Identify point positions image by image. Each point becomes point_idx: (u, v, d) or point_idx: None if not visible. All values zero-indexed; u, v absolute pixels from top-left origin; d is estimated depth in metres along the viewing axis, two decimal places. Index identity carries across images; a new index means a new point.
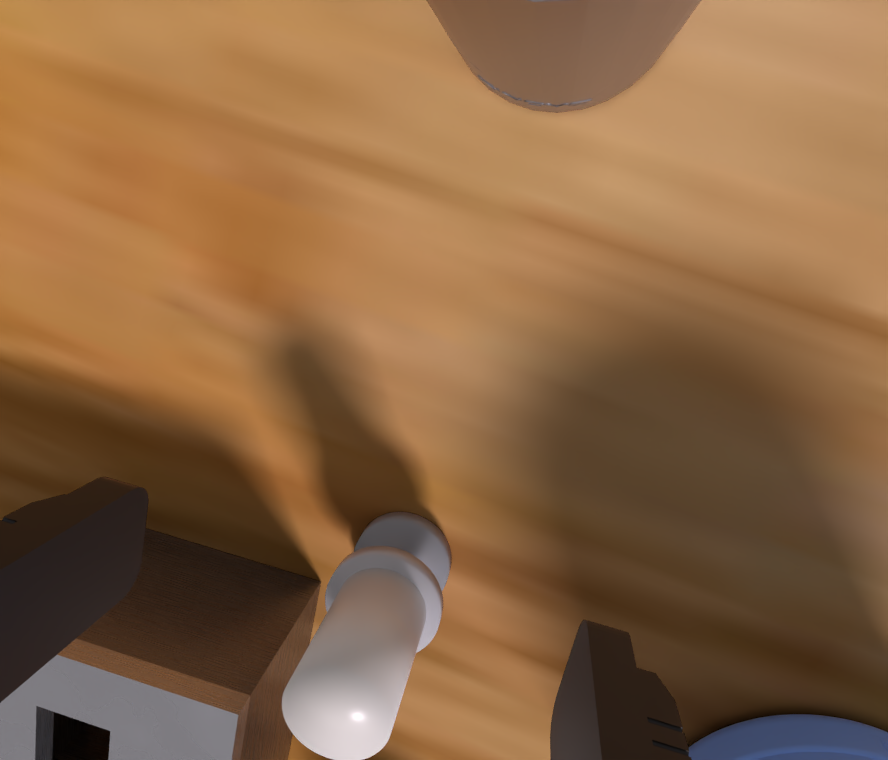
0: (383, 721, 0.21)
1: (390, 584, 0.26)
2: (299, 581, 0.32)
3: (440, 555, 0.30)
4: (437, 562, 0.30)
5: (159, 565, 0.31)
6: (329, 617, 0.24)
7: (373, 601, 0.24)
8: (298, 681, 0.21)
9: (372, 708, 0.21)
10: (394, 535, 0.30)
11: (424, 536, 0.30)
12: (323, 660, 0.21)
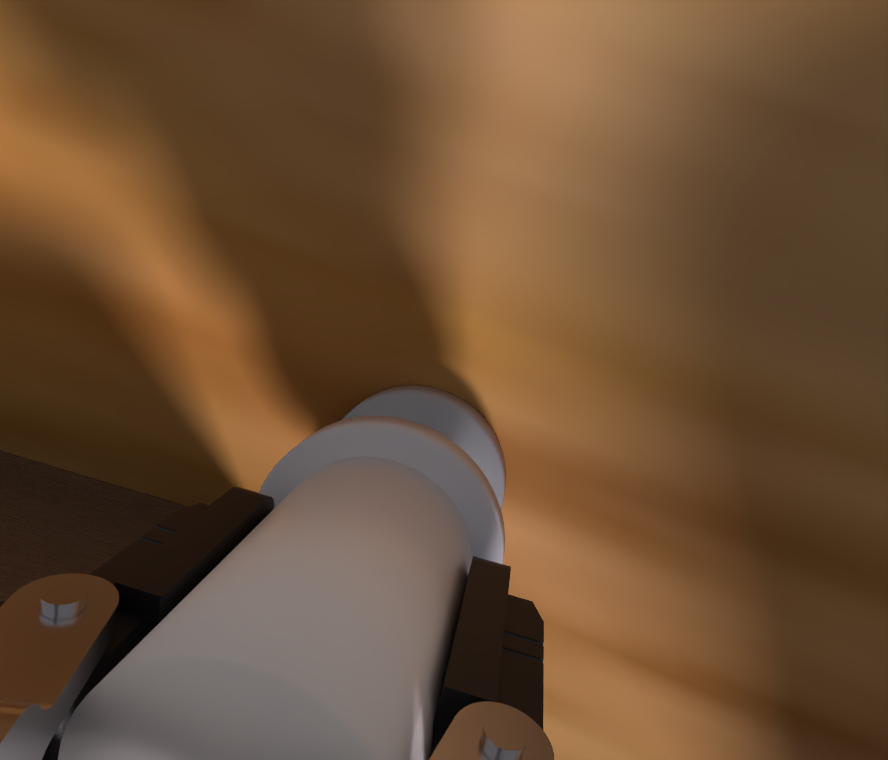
0: None
1: (393, 482, 0.11)
2: None
3: (488, 462, 0.15)
4: None
5: None
6: (239, 545, 0.09)
7: (352, 508, 0.10)
8: (101, 708, 0.07)
9: None
10: None
11: (457, 423, 0.15)
12: (184, 640, 0.07)
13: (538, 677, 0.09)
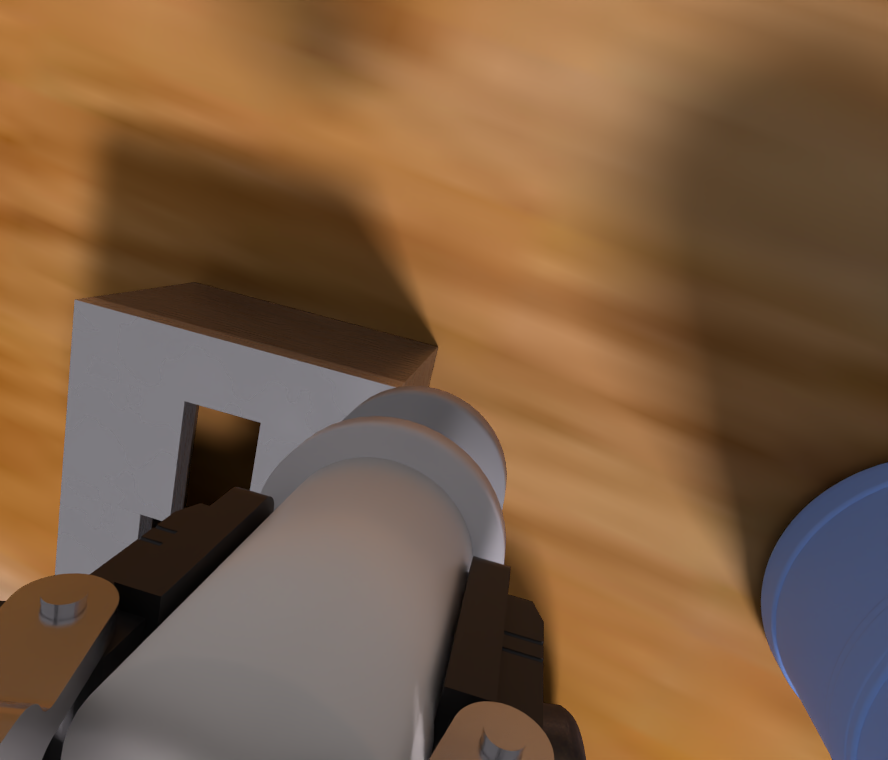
0: None
1: (395, 483, 0.11)
2: (418, 343, 0.32)
3: (489, 462, 0.15)
4: None
5: (283, 316, 0.31)
6: (240, 546, 0.09)
7: (354, 509, 0.10)
8: (104, 710, 0.07)
9: None
10: None
11: (458, 424, 0.15)
12: (185, 641, 0.07)
13: (538, 677, 0.09)
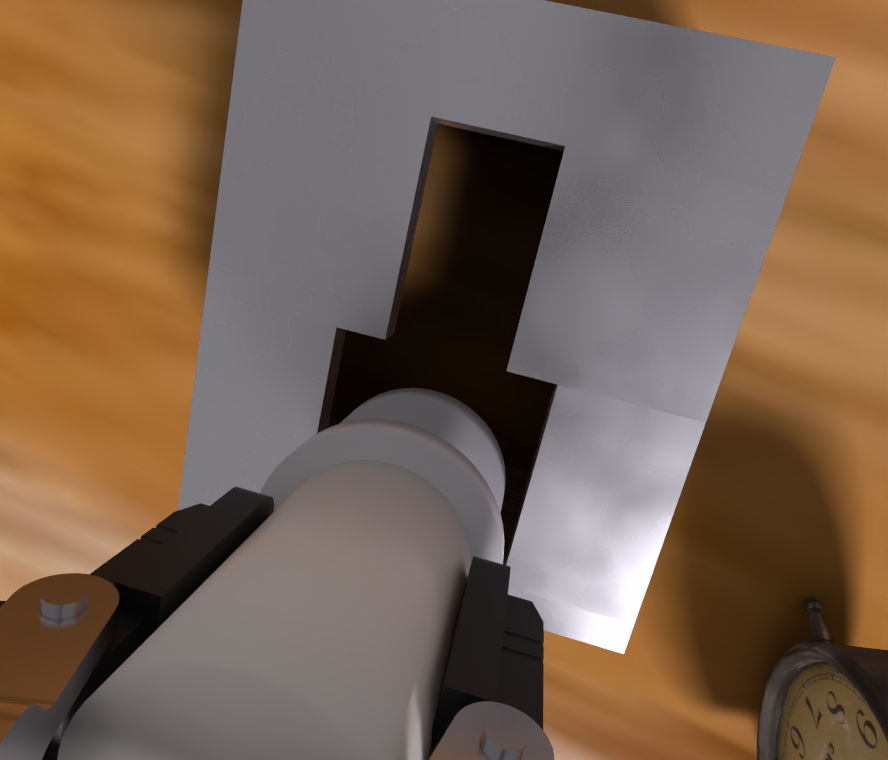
0: None
1: (393, 486, 0.11)
2: None
3: (488, 465, 0.15)
4: None
5: None
6: (238, 549, 0.09)
7: (351, 512, 0.10)
8: (100, 715, 0.07)
9: None
10: None
11: (457, 426, 0.15)
12: (181, 646, 0.07)
13: (538, 677, 0.09)
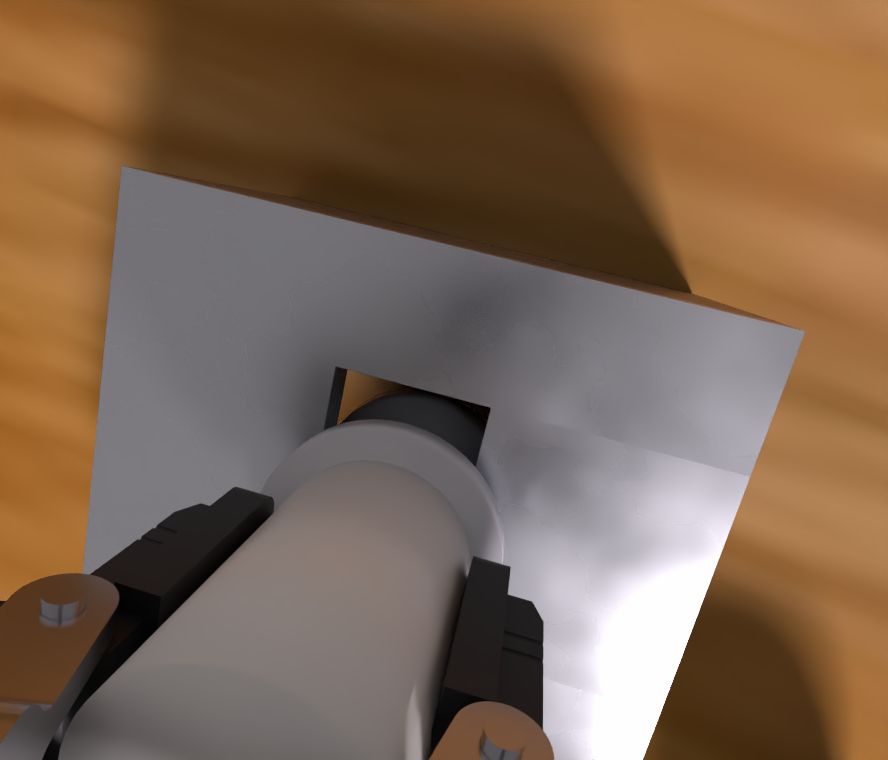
0: None
1: (393, 487, 0.11)
2: (664, 287, 0.20)
3: None
4: None
5: (456, 238, 0.19)
6: (238, 550, 0.09)
7: (351, 512, 0.10)
8: (101, 715, 0.07)
9: None
10: None
11: (457, 426, 0.15)
12: (182, 646, 0.07)
13: (538, 677, 0.09)
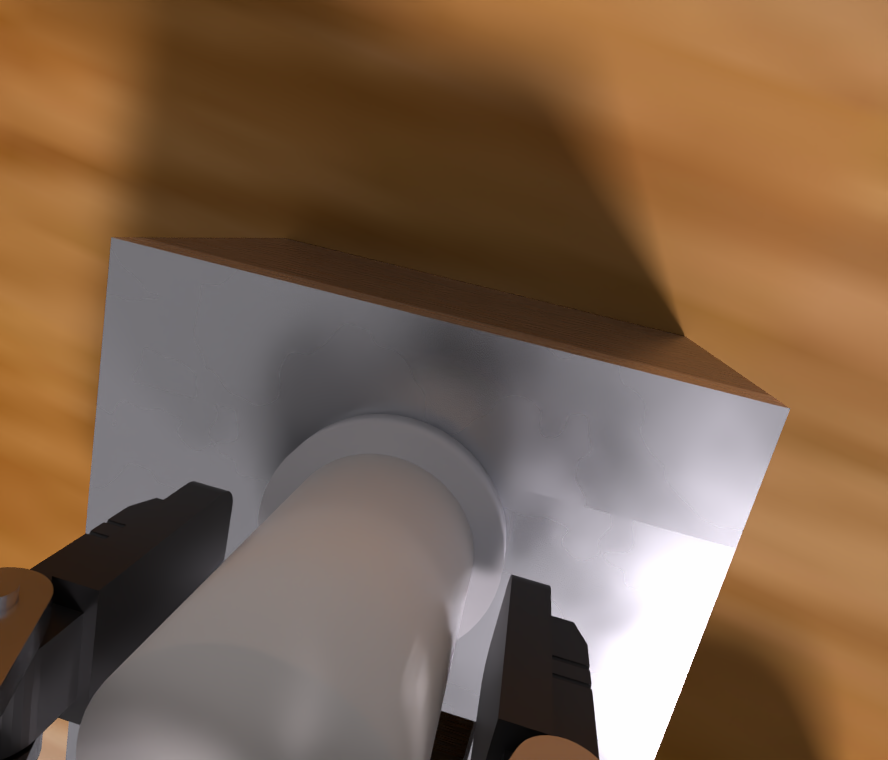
0: None
1: (397, 479, 0.11)
2: (657, 330, 0.20)
3: None
4: None
5: (448, 286, 0.19)
6: (248, 539, 0.10)
7: (358, 503, 0.10)
8: (119, 694, 0.07)
9: None
10: None
11: None
12: (198, 627, 0.07)
13: (588, 705, 0.09)
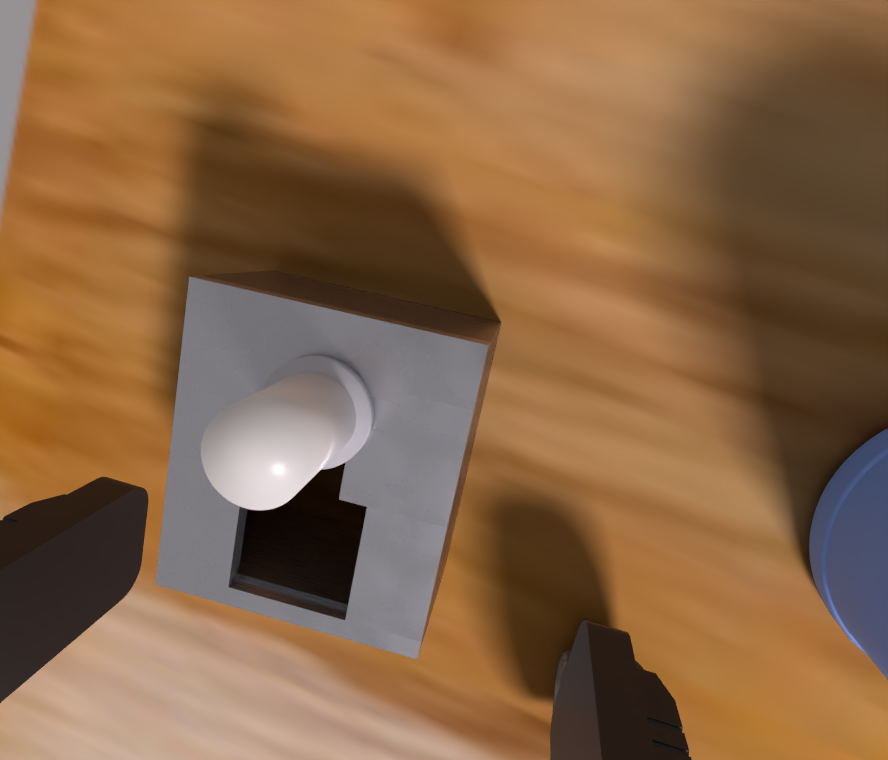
0: (298, 459, 0.22)
1: (318, 378, 0.27)
2: (483, 319, 0.35)
3: None
4: None
5: (361, 296, 0.34)
6: None
7: (298, 382, 0.25)
8: (215, 423, 0.22)
9: (287, 445, 0.22)
10: None
11: None
12: (240, 402, 0.22)
13: None
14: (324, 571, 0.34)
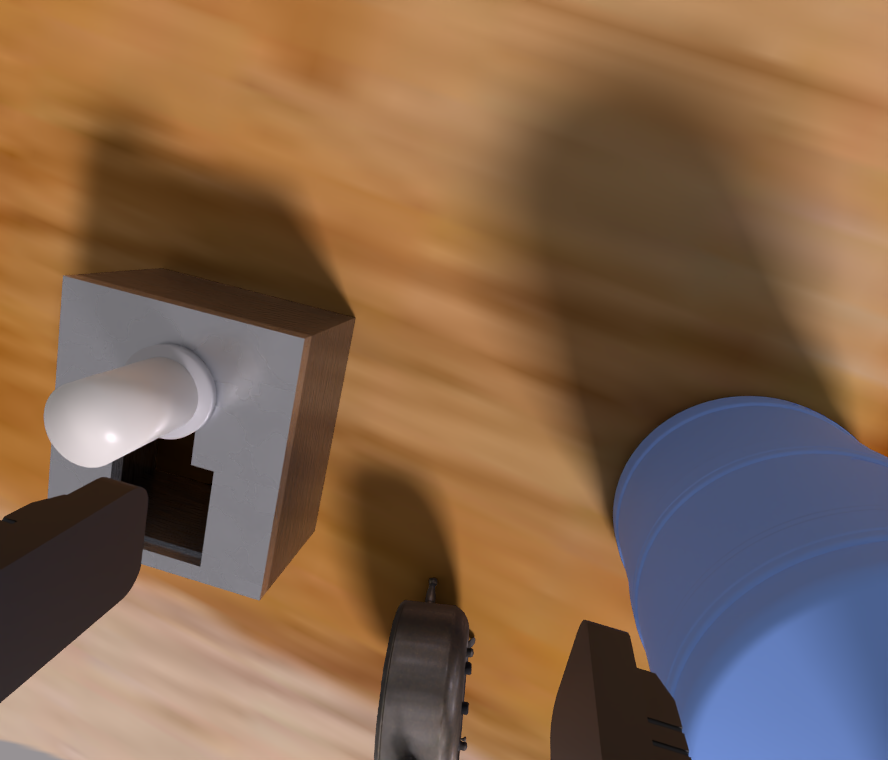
0: (118, 427, 0.27)
1: (161, 363, 0.32)
2: (339, 314, 0.41)
3: None
4: None
5: (229, 293, 0.39)
6: None
7: (139, 366, 0.31)
8: (54, 397, 0.28)
9: (109, 416, 0.27)
10: None
11: None
12: (73, 381, 0.28)
13: None
14: (195, 528, 0.40)
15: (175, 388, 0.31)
